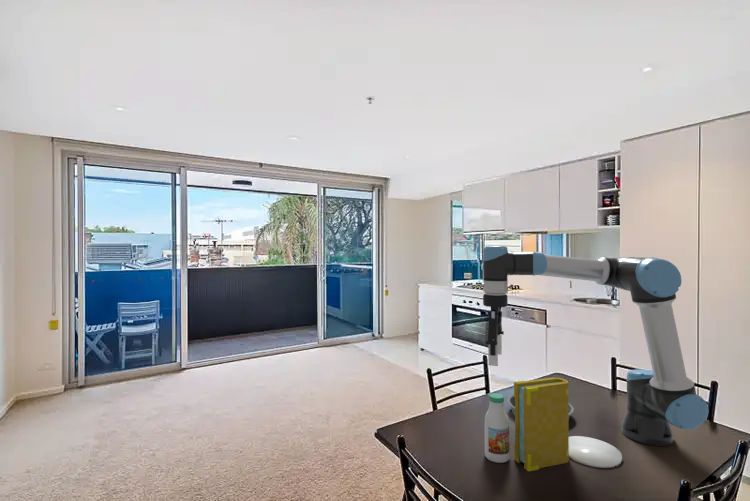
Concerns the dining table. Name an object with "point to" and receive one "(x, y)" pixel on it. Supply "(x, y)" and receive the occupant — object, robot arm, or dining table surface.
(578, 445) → the white round plate
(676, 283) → the robot arm
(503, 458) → the milk bottle
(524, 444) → the book
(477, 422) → the dining table surface
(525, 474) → the dining table surface
